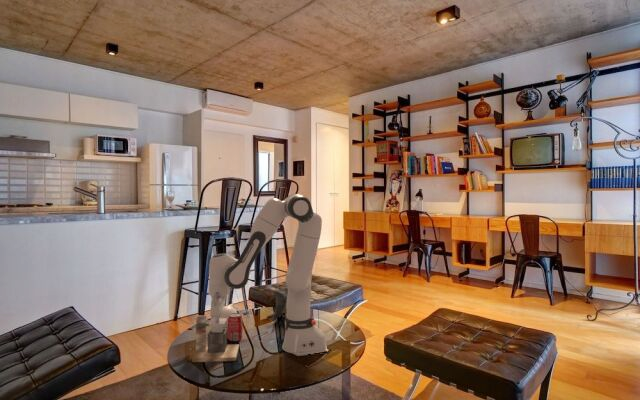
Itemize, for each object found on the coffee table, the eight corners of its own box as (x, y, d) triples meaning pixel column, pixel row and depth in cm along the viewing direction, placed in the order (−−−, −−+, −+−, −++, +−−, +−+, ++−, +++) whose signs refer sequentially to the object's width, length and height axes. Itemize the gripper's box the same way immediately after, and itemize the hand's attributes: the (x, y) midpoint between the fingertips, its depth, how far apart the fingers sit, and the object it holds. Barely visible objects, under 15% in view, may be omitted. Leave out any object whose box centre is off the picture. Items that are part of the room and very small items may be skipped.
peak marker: (201, 328, 160) (201, 325, 160) (201, 328, 159) (201, 326, 159) (197, 328, 159) (197, 326, 159) (197, 328, 159) (197, 326, 159)
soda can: (237, 335, 183) (237, 311, 183) (245, 339, 178) (245, 315, 178) (224, 339, 178) (225, 314, 178) (232, 343, 173) (232, 318, 173)
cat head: (224, 336, 182) (224, 312, 182) (206, 330, 189) (206, 307, 189) (245, 327, 194) (245, 305, 194) (227, 323, 201) (228, 300, 201)
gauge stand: (239, 347, 169) (239, 310, 169) (235, 360, 155) (236, 320, 155) (198, 348, 167) (199, 311, 167) (191, 362, 153) (192, 321, 153)
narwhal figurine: (297, 319, 210) (297, 288, 210) (272, 323, 202) (273, 291, 202) (286, 312, 222) (287, 283, 222) (263, 316, 214) (263, 285, 214)
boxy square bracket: (226, 338, 167) (227, 318, 167) (224, 345, 160) (225, 323, 160) (199, 339, 165) (200, 318, 165) (196, 345, 158) (196, 323, 158)
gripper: (222, 296, 153) (221, 328, 153) (228, 284, 173) (228, 313, 173) (207, 296, 152) (206, 329, 152) (215, 284, 172) (214, 313, 172)
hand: (217, 320), depth 163 cm, fingers closed, pressing on boxy square bracket
